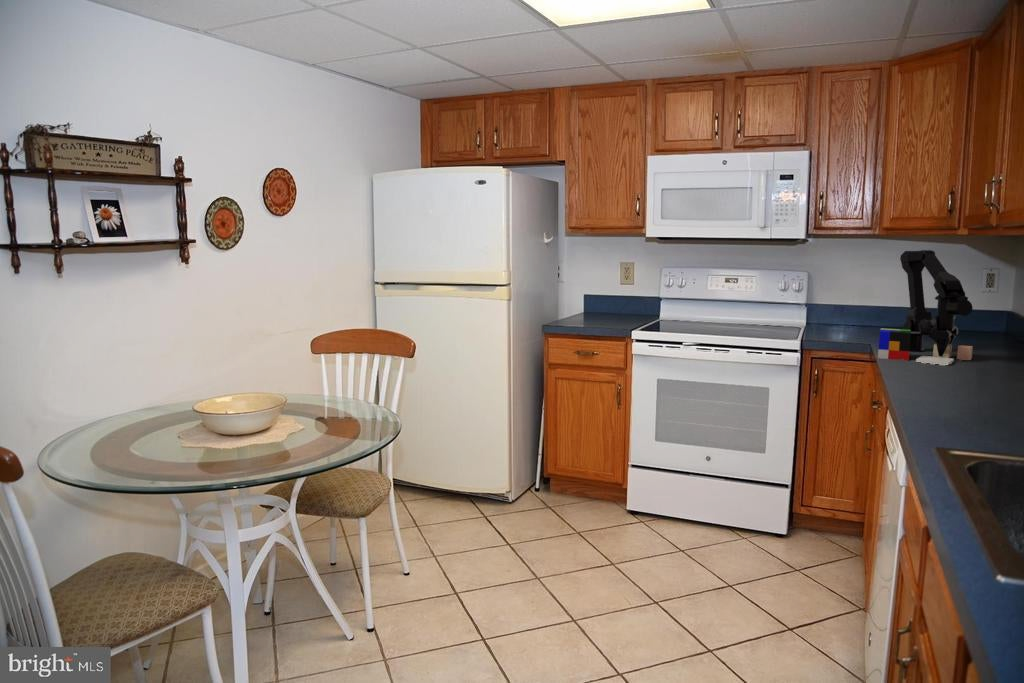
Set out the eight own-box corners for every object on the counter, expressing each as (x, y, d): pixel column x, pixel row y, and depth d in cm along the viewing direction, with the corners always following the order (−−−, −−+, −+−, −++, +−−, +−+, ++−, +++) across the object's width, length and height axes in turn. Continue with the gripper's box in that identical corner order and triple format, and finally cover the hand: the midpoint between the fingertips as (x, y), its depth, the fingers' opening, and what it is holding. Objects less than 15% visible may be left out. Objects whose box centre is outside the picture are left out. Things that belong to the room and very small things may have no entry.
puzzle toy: (877, 358, 267) (879, 331, 266) (878, 354, 276) (880, 328, 275) (908, 360, 263) (910, 333, 261) (908, 356, 271) (910, 330, 270)
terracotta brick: (958, 358, 267) (960, 345, 266) (971, 359, 264) (972, 346, 264) (956, 360, 264) (958, 346, 263) (969, 361, 261) (970, 347, 261)
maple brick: (935, 356, 271) (936, 343, 271) (950, 357, 268) (952, 344, 267) (932, 358, 268) (933, 344, 267) (948, 359, 264) (949, 346, 264)
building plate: (922, 358, 266) (922, 355, 266) (953, 362, 259) (953, 358, 259) (915, 362, 258) (916, 359, 258) (948, 365, 252) (948, 362, 252)
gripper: (926, 309, 278) (923, 349, 280) (915, 313, 264) (911, 355, 266) (960, 311, 270) (956, 353, 273) (950, 315, 256) (946, 359, 259)
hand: (941, 355), depth 268 cm, fingers closed on maple brick, 5 cm apart
